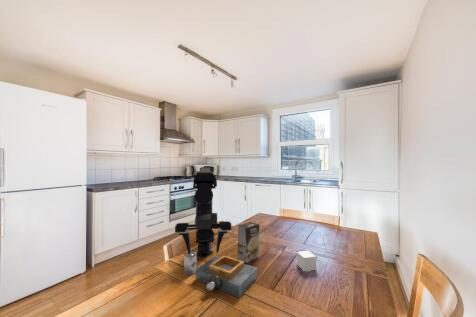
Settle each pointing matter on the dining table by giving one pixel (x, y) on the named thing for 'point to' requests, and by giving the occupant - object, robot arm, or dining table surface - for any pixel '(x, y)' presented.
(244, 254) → the coffee box
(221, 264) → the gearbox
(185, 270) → the silver calibration weight
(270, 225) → the dining table surface
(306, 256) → the adhesive note
